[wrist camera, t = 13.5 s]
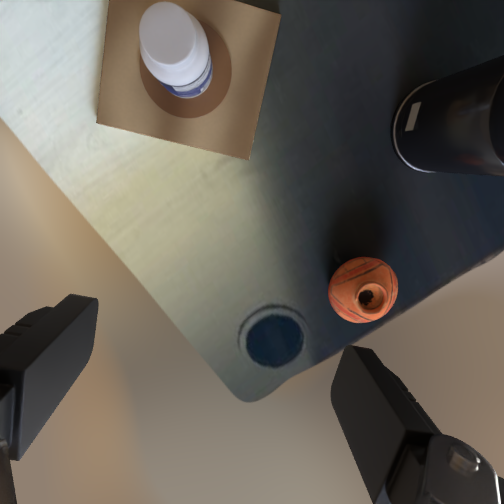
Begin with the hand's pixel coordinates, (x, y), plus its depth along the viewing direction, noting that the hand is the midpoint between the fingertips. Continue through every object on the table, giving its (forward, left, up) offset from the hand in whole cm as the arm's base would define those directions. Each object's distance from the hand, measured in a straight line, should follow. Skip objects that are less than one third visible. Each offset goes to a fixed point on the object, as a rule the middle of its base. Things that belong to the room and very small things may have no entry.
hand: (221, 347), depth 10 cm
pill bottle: (+7, -13, -27) cm, 31 cm away
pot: (-17, +5, -28) cm, 33 cm away
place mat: (+7, -13, -28) cm, 32 cm away
